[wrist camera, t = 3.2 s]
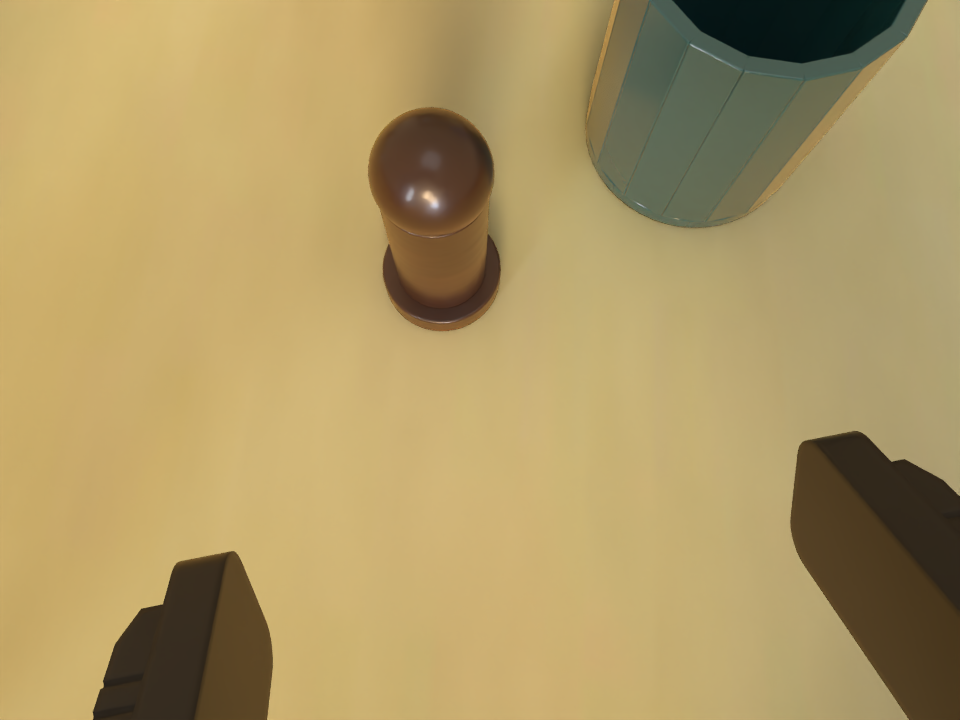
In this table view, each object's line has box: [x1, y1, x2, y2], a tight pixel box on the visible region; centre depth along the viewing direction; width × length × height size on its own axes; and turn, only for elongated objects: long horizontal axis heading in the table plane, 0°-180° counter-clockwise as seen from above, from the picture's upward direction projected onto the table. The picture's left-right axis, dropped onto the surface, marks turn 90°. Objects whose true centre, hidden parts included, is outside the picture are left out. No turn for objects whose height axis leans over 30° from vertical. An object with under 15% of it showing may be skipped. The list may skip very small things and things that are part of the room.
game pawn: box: [368, 107, 501, 331], centre depth 22 cm, size 4×4×9 cm
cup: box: [586, 0, 928, 228], centre depth 24 cm, size 8×8×9 cm
